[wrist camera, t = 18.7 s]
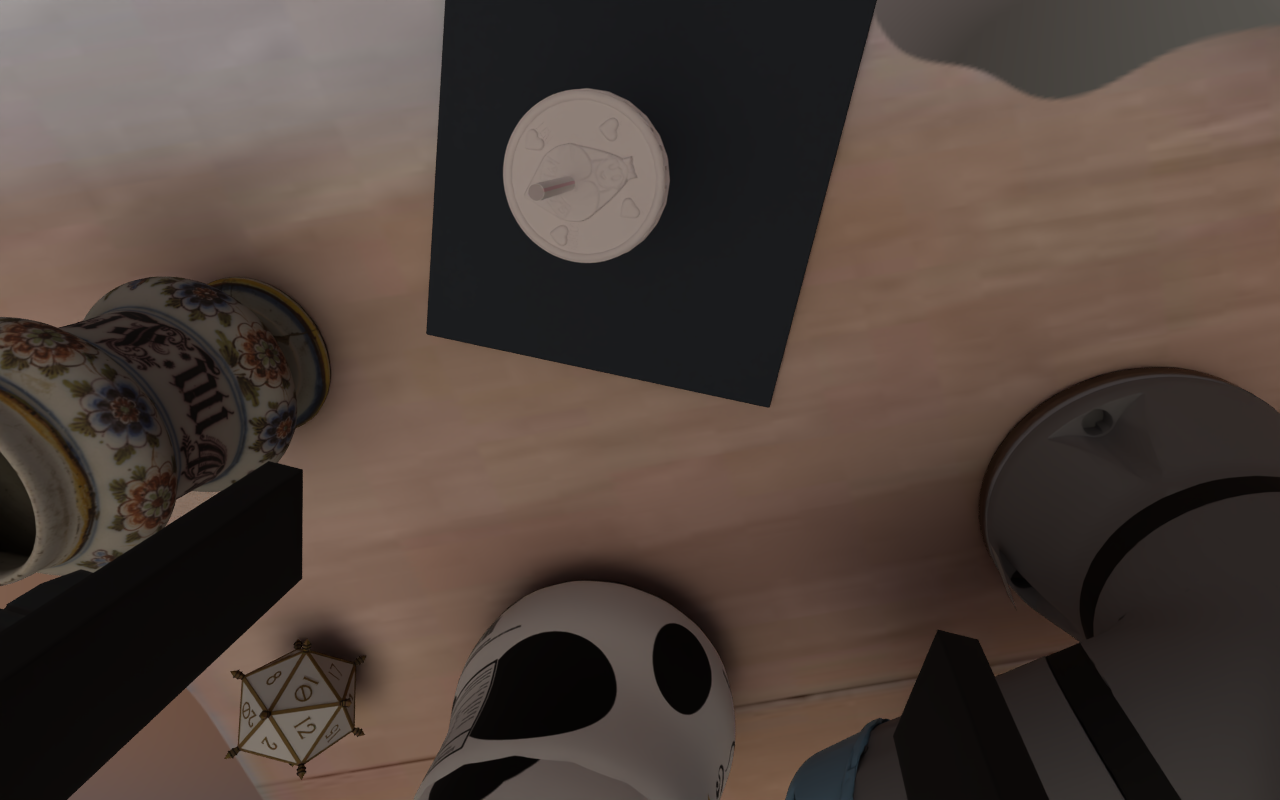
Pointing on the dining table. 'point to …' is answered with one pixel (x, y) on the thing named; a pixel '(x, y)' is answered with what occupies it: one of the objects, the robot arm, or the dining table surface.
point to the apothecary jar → (144, 412)
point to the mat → (698, 191)
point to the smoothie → (586, 175)
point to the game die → (297, 706)
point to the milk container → (588, 704)
